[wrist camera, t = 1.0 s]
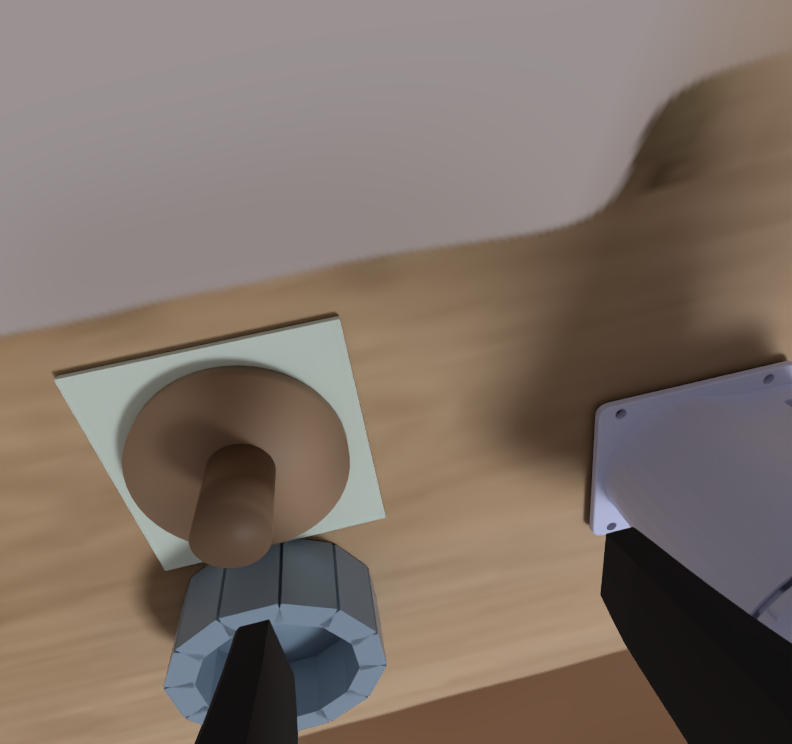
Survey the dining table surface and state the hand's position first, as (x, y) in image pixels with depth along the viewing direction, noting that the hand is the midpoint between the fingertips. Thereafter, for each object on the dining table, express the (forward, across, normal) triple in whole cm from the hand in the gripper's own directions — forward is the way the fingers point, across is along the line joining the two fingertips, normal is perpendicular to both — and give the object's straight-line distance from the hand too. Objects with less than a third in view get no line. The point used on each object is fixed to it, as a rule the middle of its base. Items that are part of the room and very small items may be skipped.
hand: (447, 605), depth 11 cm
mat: (+10, +6, +2) cm, 12 cm away
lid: (+10, +6, +2) cm, 12 cm away
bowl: (+10, +7, +12) cm, 17 cm away
